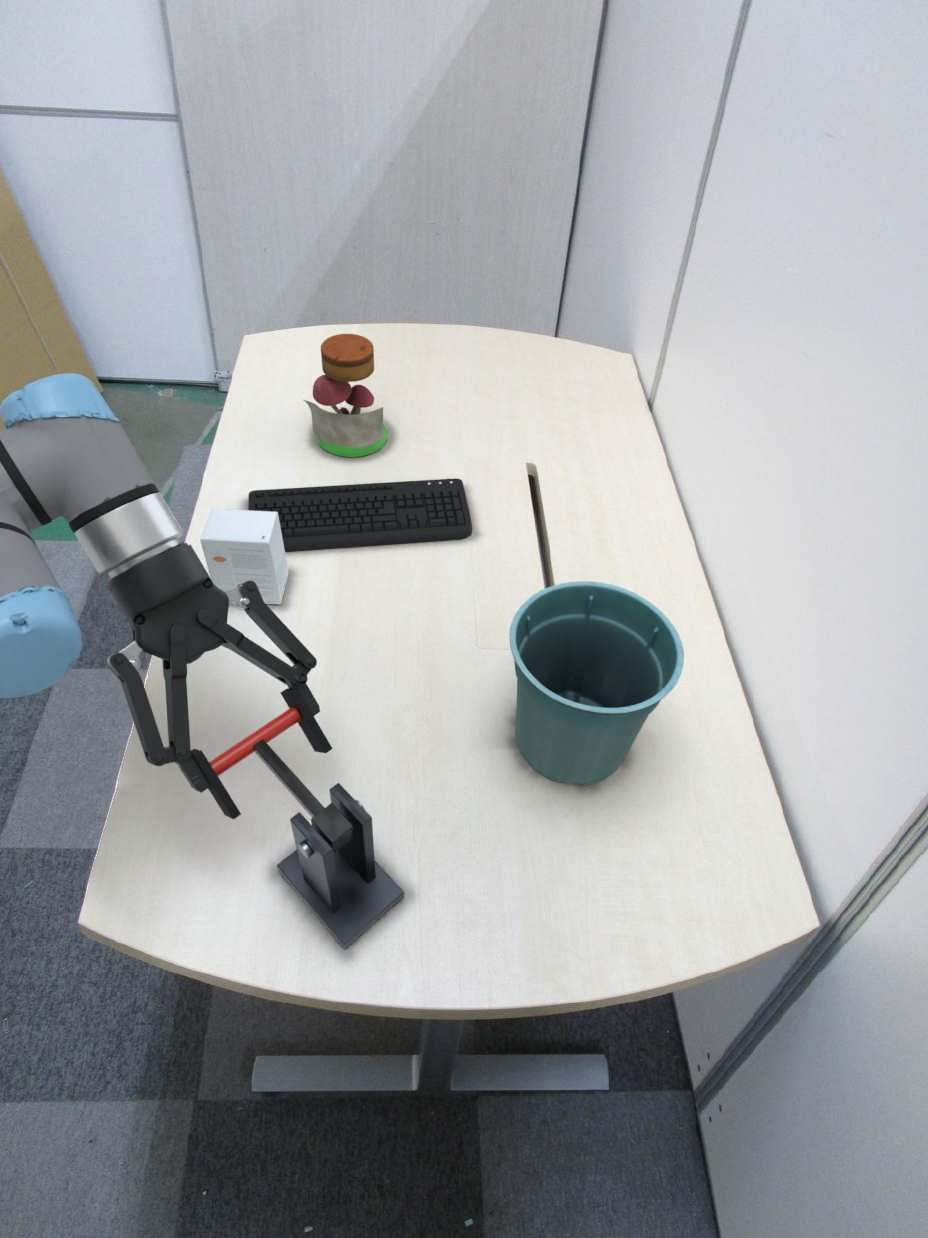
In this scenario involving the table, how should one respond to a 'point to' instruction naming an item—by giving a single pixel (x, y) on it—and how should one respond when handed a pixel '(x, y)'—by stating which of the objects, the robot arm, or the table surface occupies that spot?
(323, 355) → the multicoloured stacked piece
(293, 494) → the keyboard
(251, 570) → the small box
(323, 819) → the lever
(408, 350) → the table surface
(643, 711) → the flower pot
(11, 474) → the robot arm
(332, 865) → the bracket
